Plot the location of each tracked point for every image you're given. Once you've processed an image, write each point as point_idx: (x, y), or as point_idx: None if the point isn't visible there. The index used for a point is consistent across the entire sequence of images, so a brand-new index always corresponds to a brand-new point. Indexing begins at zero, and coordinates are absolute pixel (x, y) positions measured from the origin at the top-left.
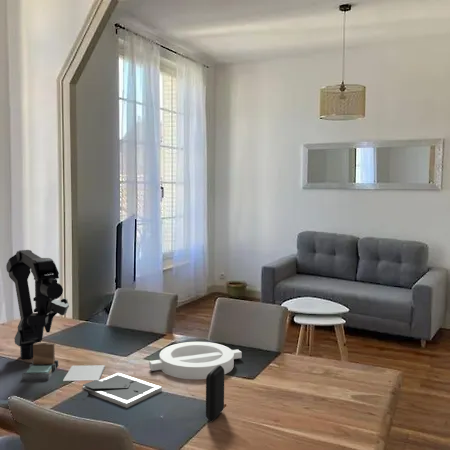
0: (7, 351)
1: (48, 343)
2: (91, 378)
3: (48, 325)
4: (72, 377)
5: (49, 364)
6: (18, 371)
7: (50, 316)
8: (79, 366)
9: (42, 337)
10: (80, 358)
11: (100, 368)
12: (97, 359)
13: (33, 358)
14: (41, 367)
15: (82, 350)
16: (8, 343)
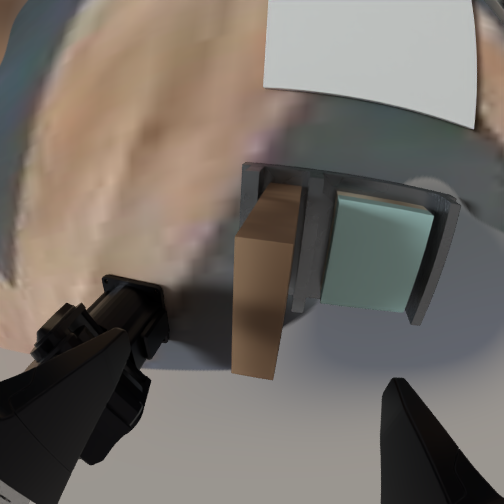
0: None
1: (254, 286)
2: (454, 1)
3: (85, 386)
4: (442, 79)
5: (318, 214)
6: None
7: (8, 447)
8: (280, 44)
9: (408, 396)
10: (126, 83)
11: None
12: (149, 2)
13: (284, 315)
14: (358, 253)
15: (49, 111)
16: None
